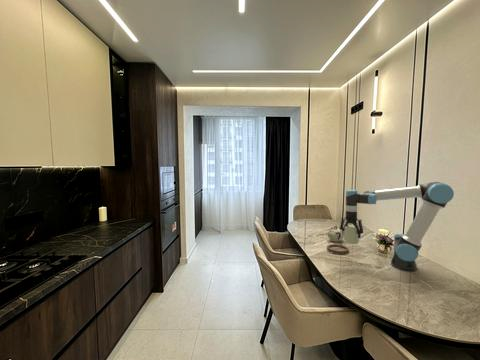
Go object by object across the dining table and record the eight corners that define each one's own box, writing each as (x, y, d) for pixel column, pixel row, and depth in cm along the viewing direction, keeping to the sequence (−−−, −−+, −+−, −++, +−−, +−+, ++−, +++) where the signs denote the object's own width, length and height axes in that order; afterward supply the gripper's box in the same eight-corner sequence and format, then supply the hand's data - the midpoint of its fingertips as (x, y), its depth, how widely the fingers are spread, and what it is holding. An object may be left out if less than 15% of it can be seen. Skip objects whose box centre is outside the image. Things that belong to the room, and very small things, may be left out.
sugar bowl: (348, 244, 209) (348, 228, 208) (332, 244, 208) (332, 228, 208) (338, 237, 228) (338, 222, 227) (324, 237, 228) (324, 223, 227)
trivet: (352, 250, 192) (352, 247, 192) (342, 256, 181) (342, 253, 181) (333, 245, 205) (333, 242, 205) (323, 250, 194) (323, 247, 194)
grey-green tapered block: (346, 239, 173) (346, 224, 172) (359, 241, 167) (359, 225, 166) (342, 242, 166) (343, 226, 165) (356, 245, 160) (356, 228, 159)
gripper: (369, 212, 159) (368, 243, 160) (339, 208, 176) (339, 236, 177) (365, 213, 154) (364, 245, 156) (334, 209, 171) (334, 238, 172)
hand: (351, 240), depth 166 cm, fingers closed on grey-green tapered block, 9 cm apart
